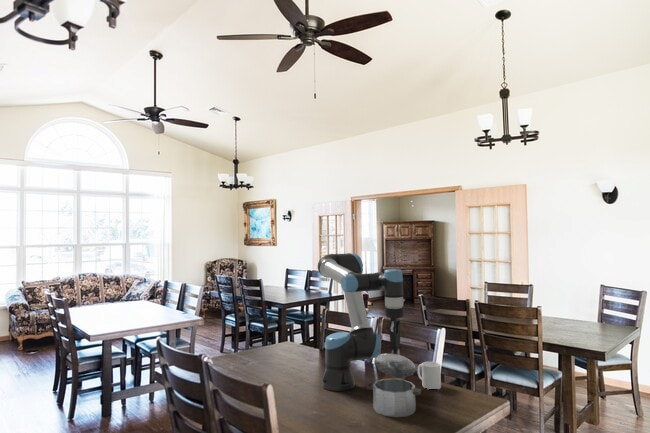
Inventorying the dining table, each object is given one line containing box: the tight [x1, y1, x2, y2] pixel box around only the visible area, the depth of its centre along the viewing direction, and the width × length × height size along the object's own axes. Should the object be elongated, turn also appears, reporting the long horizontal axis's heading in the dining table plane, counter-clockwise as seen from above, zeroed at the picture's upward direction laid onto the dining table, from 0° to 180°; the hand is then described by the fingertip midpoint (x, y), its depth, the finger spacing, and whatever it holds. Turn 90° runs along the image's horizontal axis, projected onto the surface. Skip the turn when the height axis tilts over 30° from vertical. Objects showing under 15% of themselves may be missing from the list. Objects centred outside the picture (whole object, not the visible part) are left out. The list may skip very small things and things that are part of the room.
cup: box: [417, 361, 442, 390], centre depth 188 cm, size 8×12×10 cm
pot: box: [366, 378, 422, 418], centre depth 163 cm, size 21×17×9 cm
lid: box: [374, 352, 416, 379], centre depth 167 cm, size 16×17×2 cm
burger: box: [382, 374, 405, 380], centre depth 189 cm, size 10×9×5 cm
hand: (396, 365), depth 168 cm, fingers closed
